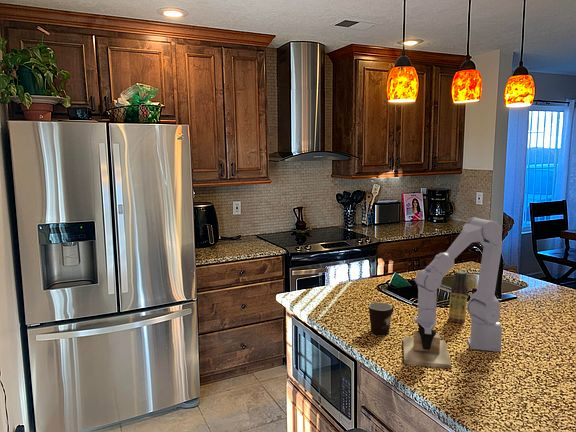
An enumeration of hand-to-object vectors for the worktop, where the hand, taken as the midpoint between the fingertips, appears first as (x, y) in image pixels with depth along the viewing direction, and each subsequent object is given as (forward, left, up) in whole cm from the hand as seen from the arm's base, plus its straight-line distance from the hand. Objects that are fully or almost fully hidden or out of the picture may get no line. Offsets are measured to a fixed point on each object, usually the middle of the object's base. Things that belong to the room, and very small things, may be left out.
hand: (425, 346), depth 141 cm
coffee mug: (+14, -15, -3) cm, 21 cm away
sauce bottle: (-14, -32, -3) cm, 35 cm away
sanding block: (0, 0, -1) cm, 1 cm away
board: (0, 0, -3) cm, 3 cm away
